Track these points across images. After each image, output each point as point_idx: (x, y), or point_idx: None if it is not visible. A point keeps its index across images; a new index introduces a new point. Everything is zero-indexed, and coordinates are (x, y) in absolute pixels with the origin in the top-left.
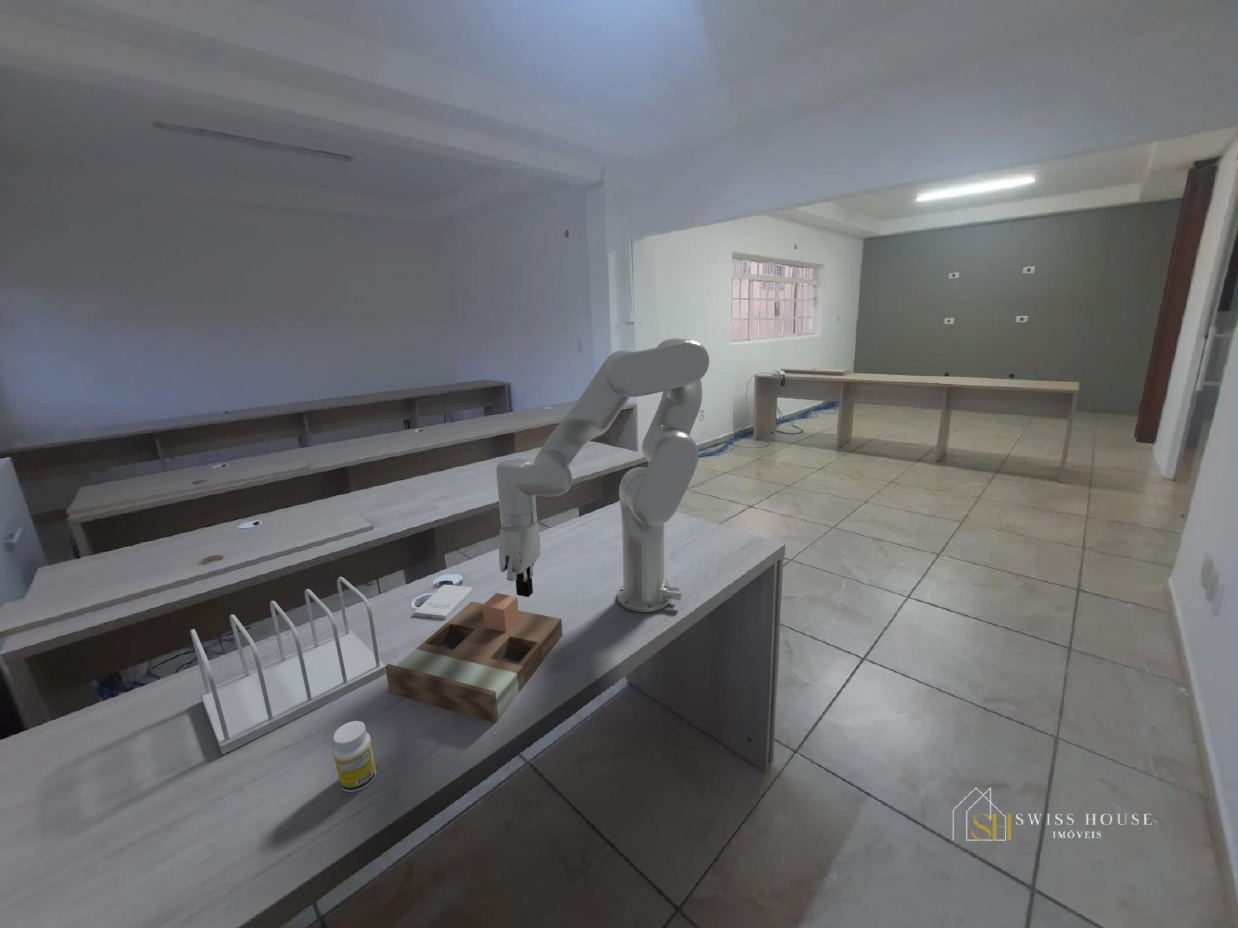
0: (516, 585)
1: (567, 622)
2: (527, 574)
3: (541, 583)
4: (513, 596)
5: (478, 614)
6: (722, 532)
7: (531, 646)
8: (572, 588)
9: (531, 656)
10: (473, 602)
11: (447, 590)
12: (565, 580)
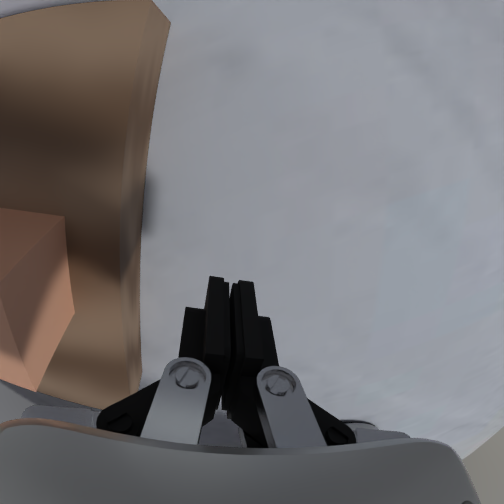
0: (207, 316)
1: None
2: (240, 424)
3: (449, 229)
4: (28, 377)
5: (38, 116)
6: (487, 438)
7: None
8: (399, 333)
9: None
10: (141, 15)
11: None
12: (448, 299)
